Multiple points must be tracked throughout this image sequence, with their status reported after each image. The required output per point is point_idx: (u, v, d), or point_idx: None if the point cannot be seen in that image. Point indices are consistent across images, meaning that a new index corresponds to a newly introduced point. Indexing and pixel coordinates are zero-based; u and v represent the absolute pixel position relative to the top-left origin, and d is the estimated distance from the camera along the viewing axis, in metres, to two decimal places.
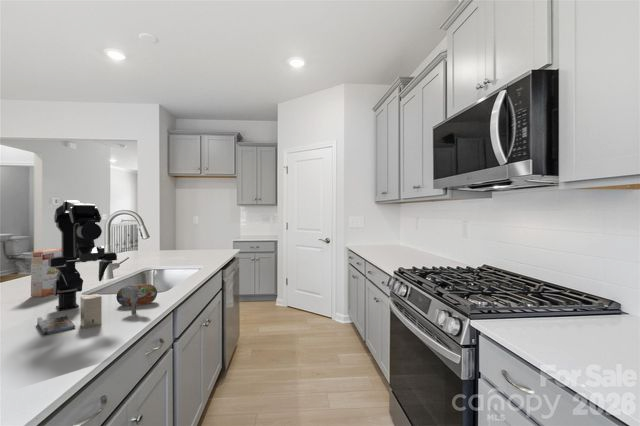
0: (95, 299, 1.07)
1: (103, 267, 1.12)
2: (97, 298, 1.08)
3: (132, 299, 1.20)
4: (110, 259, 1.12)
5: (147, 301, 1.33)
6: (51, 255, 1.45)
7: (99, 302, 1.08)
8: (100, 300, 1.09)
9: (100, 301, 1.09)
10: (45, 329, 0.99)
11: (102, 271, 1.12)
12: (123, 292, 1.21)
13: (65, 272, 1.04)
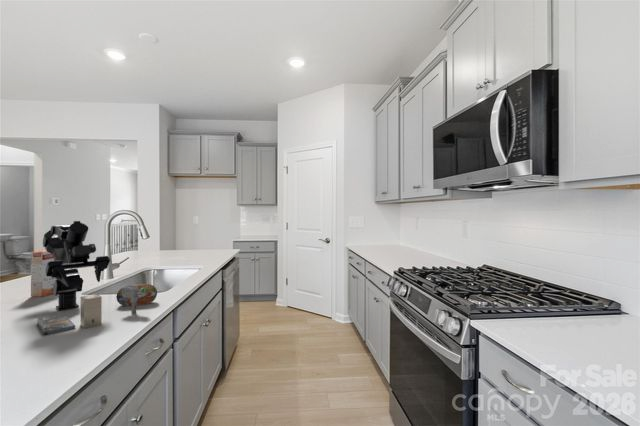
0: (95, 299, 1.07)
1: (99, 268, 1.19)
2: (97, 298, 1.08)
3: (132, 299, 1.20)
4: (103, 259, 1.21)
5: (147, 301, 1.33)
6: (51, 255, 1.45)
7: (99, 302, 1.08)
8: (100, 300, 1.09)
9: (100, 301, 1.09)
10: (45, 329, 0.99)
11: (99, 271, 1.18)
12: (123, 292, 1.21)
13: (63, 273, 1.10)
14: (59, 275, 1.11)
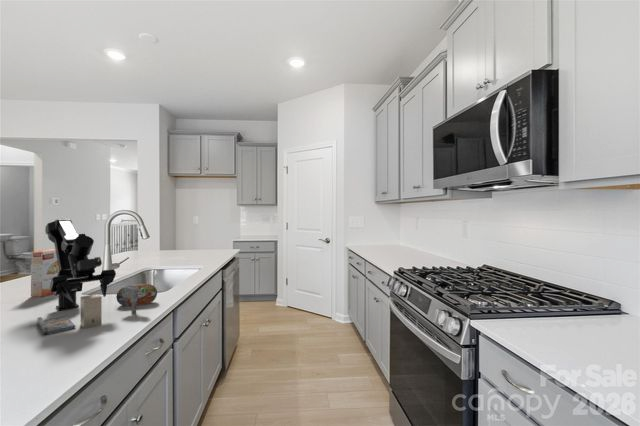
0: (95, 299, 1.07)
1: (104, 282, 1.15)
2: (97, 298, 1.08)
3: (132, 299, 1.20)
4: (109, 272, 1.17)
5: (147, 301, 1.33)
6: (51, 255, 1.45)
7: (99, 302, 1.08)
8: (100, 300, 1.09)
9: (100, 301, 1.09)
10: (45, 329, 0.99)
11: (104, 286, 1.14)
12: (123, 292, 1.21)
13: (68, 288, 1.07)
14: (64, 290, 1.08)
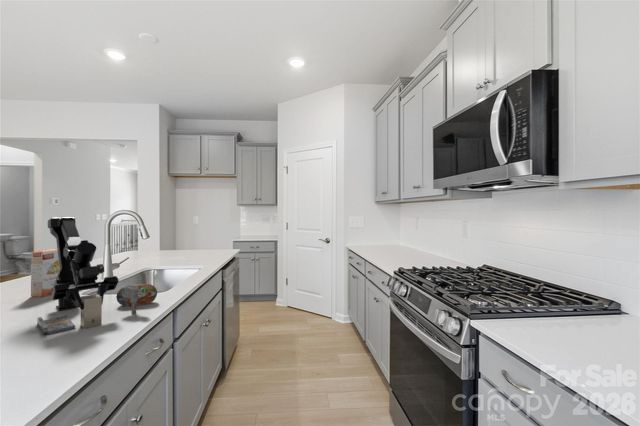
0: (95, 299, 1.07)
1: (101, 290, 1.12)
2: (97, 298, 1.08)
3: (132, 299, 1.20)
4: (112, 279, 1.15)
5: (147, 301, 1.33)
6: (51, 255, 1.45)
7: (99, 302, 1.08)
8: (100, 300, 1.09)
9: (100, 301, 1.09)
10: (45, 329, 0.99)
11: (101, 294, 1.11)
12: (123, 292, 1.21)
13: (77, 295, 1.06)
14: (73, 297, 1.07)
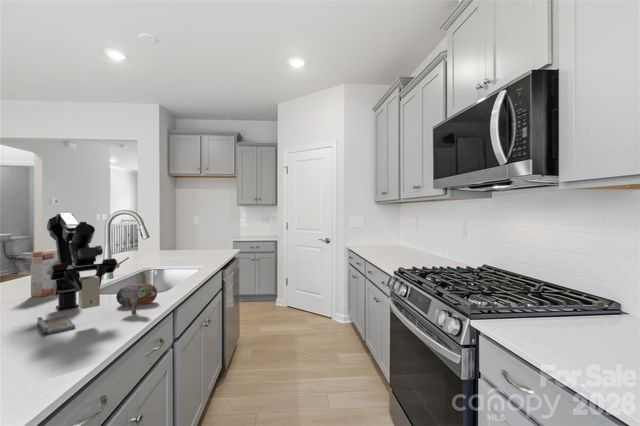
0: (93, 280, 1.07)
1: (99, 272, 1.12)
2: (95, 279, 1.08)
3: (132, 299, 1.20)
4: (110, 262, 1.15)
5: (147, 301, 1.33)
6: (51, 255, 1.45)
7: (97, 283, 1.08)
8: (98, 281, 1.08)
9: (98, 282, 1.08)
10: (45, 329, 0.99)
11: (99, 276, 1.11)
12: (123, 292, 1.21)
13: (75, 275, 1.06)
14: (71, 278, 1.07)
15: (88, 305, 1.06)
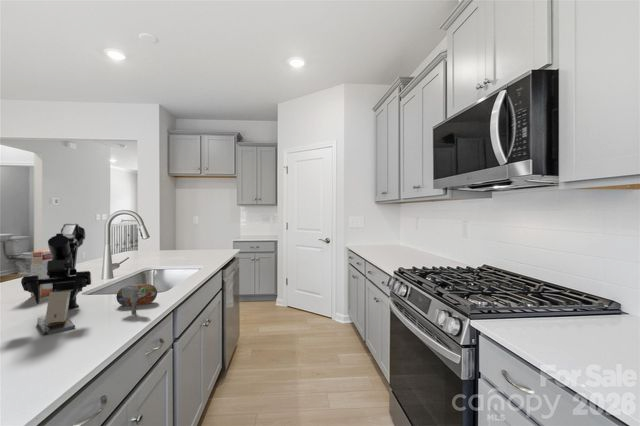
0: (61, 293, 1.07)
1: (75, 284, 1.10)
2: (63, 293, 1.08)
3: (132, 299, 1.20)
4: (82, 274, 1.12)
5: (147, 301, 1.33)
6: (51, 255, 1.45)
7: (65, 297, 1.07)
8: (66, 295, 1.08)
9: (66, 296, 1.08)
10: (45, 329, 0.99)
11: (74, 288, 1.10)
12: (123, 292, 1.21)
13: (35, 289, 1.05)
14: None
15: (52, 319, 1.05)
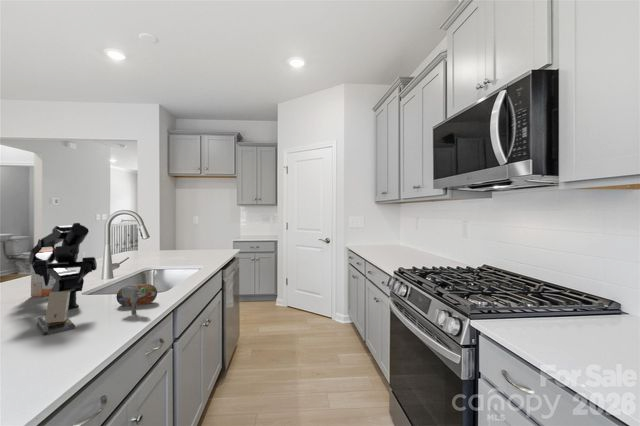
0: (61, 293, 1.07)
1: (81, 269, 1.19)
2: (63, 292, 1.08)
3: (132, 299, 1.20)
4: (87, 260, 1.20)
5: (147, 301, 1.33)
6: None
7: (64, 297, 1.08)
8: (66, 295, 1.08)
9: (66, 296, 1.08)
10: (45, 329, 0.99)
11: (80, 272, 1.18)
12: (123, 292, 1.21)
13: (45, 272, 1.14)
14: None
15: (52, 319, 1.05)
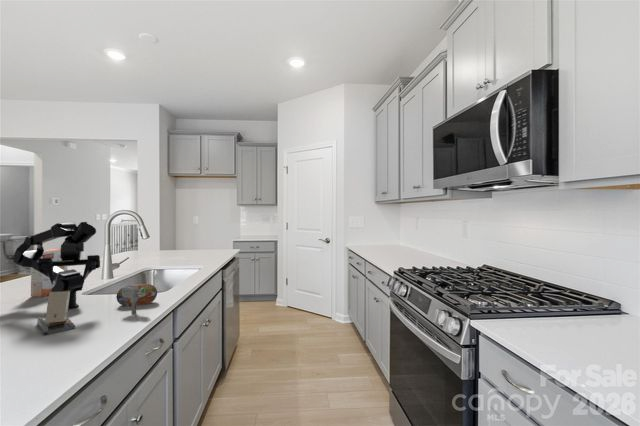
0: (61, 293, 1.07)
1: (86, 266, 1.20)
2: (63, 292, 1.08)
3: (132, 299, 1.20)
4: (92, 258, 1.22)
5: (147, 301, 1.33)
6: (51, 255, 1.45)
7: (64, 297, 1.08)
8: (65, 295, 1.08)
9: (66, 296, 1.08)
10: (45, 329, 0.99)
11: (85, 270, 1.19)
12: (123, 292, 1.21)
13: (50, 270, 1.14)
14: None
15: (52, 319, 1.05)
